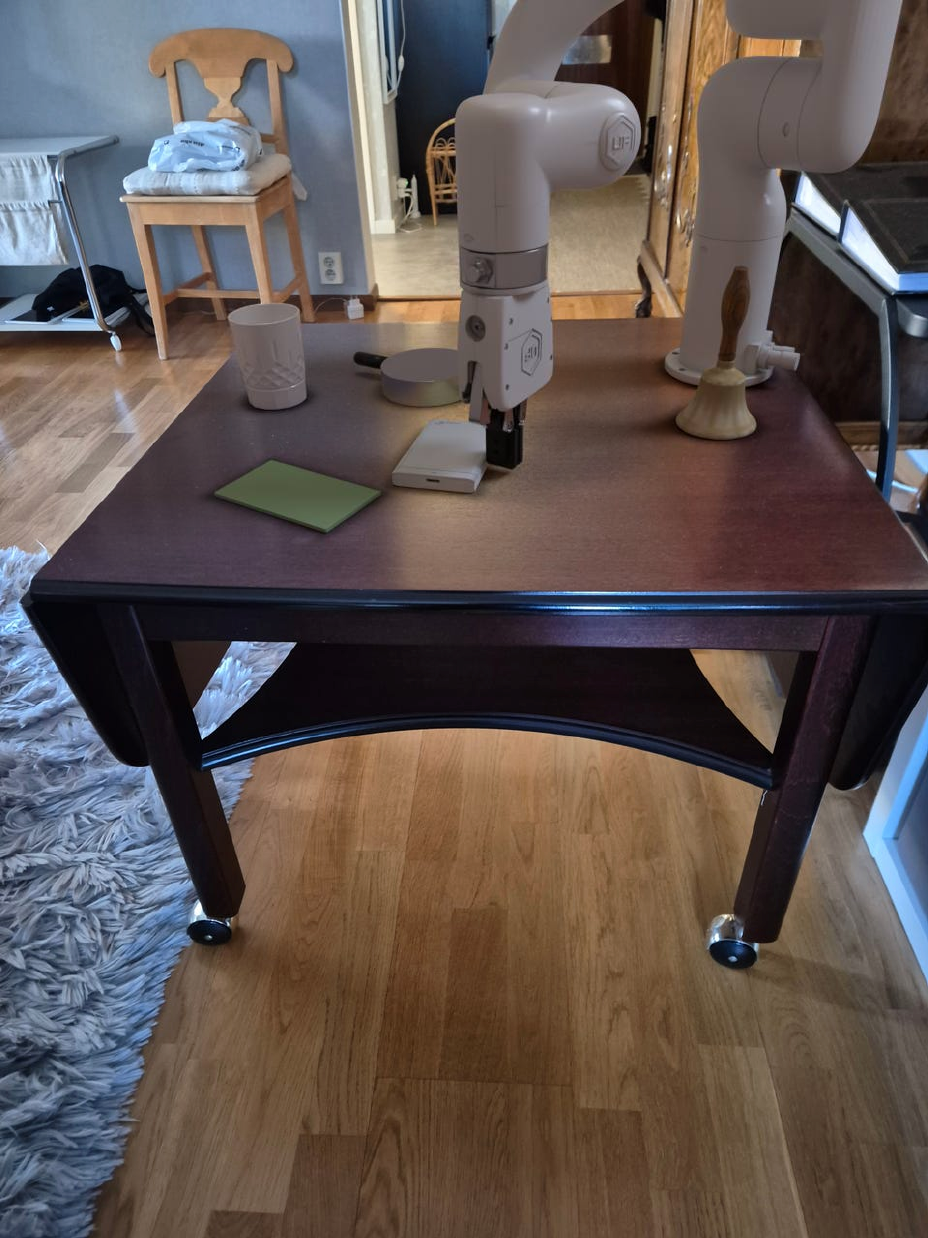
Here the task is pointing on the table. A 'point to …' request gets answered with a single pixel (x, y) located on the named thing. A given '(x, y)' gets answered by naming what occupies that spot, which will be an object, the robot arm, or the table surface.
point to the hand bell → (723, 375)
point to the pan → (417, 375)
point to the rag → (298, 495)
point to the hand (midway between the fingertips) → (504, 463)
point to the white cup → (270, 354)
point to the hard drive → (444, 457)
